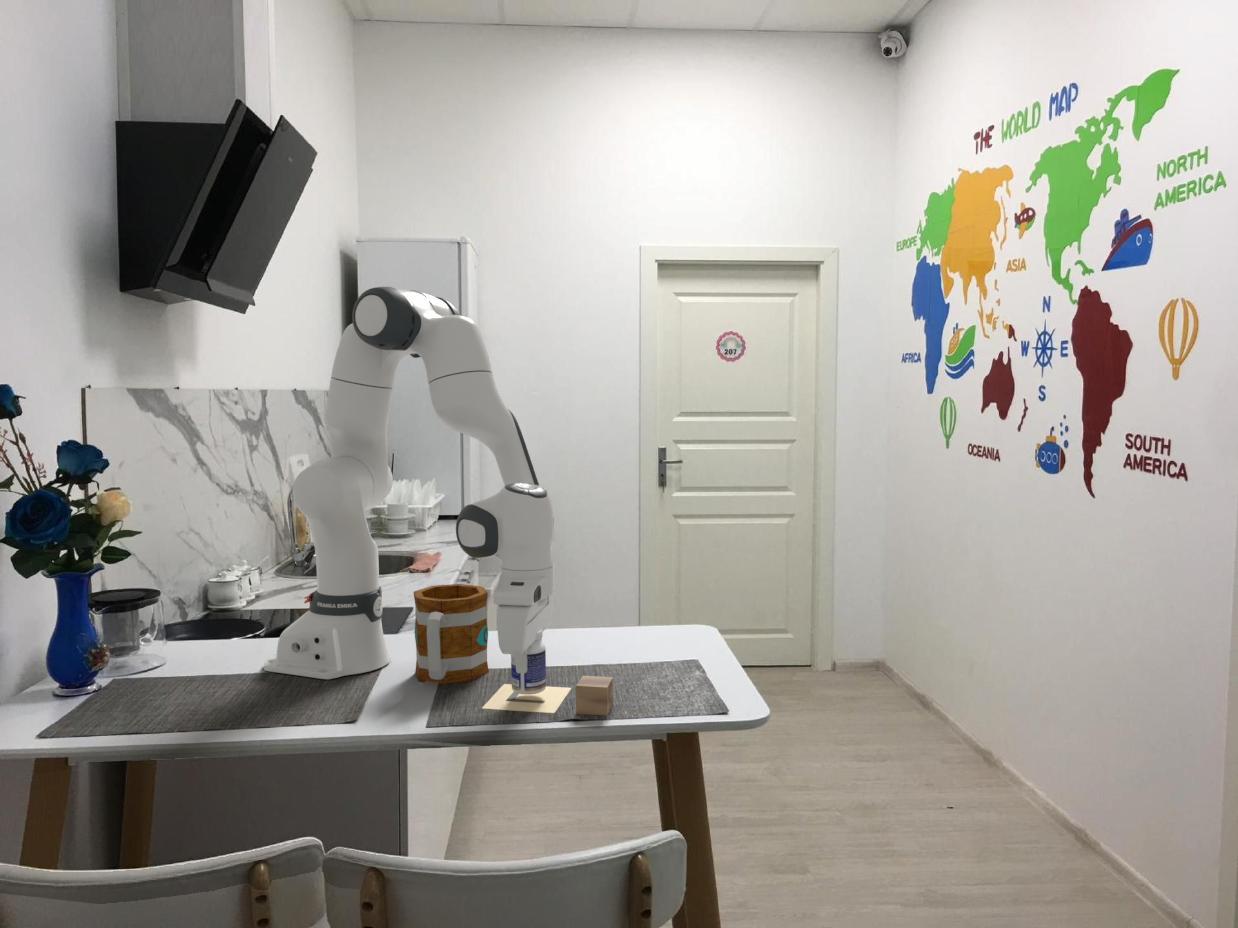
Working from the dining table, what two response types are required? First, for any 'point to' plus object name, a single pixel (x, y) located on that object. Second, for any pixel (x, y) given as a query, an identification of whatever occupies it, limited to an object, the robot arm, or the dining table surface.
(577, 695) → the walnut block
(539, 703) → the letter card
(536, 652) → the pill bottle
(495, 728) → the dining table surface
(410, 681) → the dining table surface
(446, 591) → the mug
